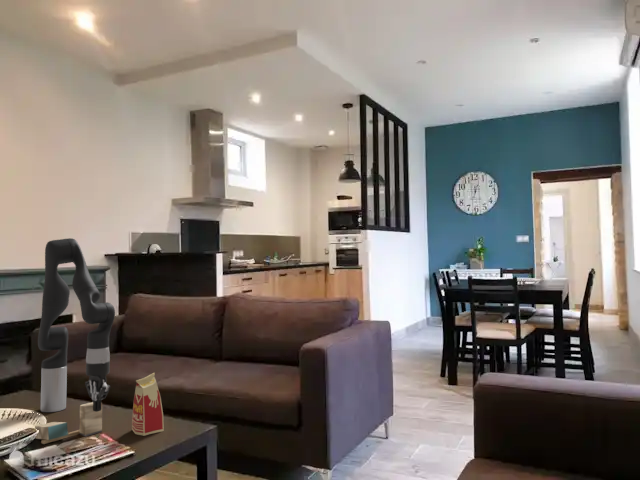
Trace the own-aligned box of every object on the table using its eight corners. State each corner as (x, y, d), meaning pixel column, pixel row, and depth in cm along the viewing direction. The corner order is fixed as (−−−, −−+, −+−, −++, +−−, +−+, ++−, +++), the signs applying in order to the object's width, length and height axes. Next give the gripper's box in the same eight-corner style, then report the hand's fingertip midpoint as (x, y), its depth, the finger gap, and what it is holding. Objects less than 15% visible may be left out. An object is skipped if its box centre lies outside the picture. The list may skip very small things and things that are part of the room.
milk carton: (153, 425, 184) (153, 369, 185) (165, 430, 177) (165, 373, 178) (128, 430, 177) (129, 373, 178) (140, 437, 171) (140, 378, 172)
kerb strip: (41, 443, 165) (41, 440, 166) (96, 427, 181) (96, 425, 181) (43, 444, 165) (43, 441, 165) (98, 428, 180) (98, 425, 180)
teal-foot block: (49, 439, 164) (35, 438, 170) (67, 434, 169) (53, 433, 175) (48, 427, 165) (35, 426, 171) (67, 422, 170) (53, 421, 175)
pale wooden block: (79, 434, 174) (79, 405, 175) (95, 429, 179) (96, 401, 179) (85, 436, 172) (85, 407, 172) (101, 431, 177) (102, 403, 177)
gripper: (77, 359, 175) (76, 410, 175) (97, 364, 167) (97, 417, 167) (98, 356, 181) (97, 405, 181) (118, 361, 173) (117, 411, 173)
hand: (97, 410), depth 174 cm, fingers closed
